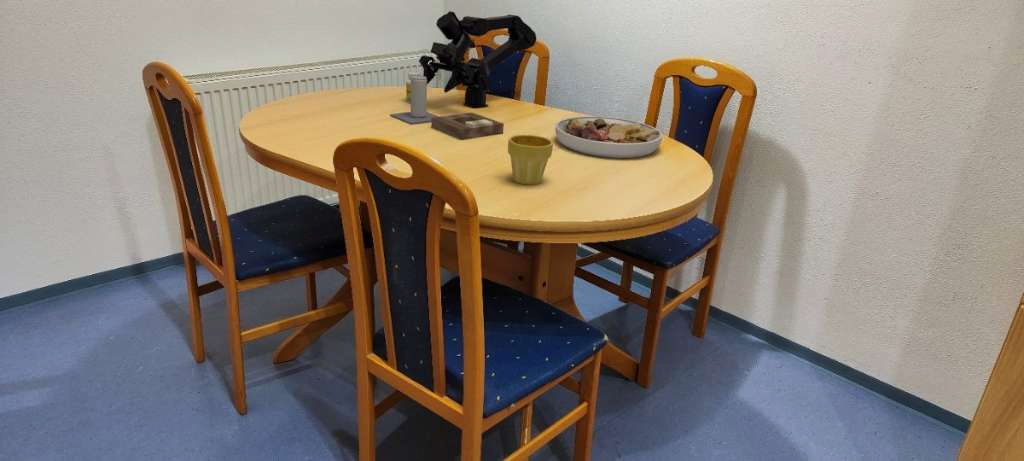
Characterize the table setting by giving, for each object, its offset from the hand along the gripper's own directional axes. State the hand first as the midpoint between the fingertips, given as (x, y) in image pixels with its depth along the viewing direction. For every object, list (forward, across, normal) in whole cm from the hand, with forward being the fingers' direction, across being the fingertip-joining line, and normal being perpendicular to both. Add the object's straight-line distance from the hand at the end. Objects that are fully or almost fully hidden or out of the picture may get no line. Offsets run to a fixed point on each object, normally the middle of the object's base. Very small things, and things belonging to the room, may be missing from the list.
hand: (433, 89), depth 209 cm
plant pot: (+28, +57, -17) cm, 66 cm away
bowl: (-1, +56, +13) cm, 58 cm away
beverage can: (+10, 0, 0) cm, 10 cm away
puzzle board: (+11, +20, 0) cm, 22 cm away
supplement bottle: (0, -16, +12) cm, 19 cm away
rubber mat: (+11, 0, 0) cm, 11 cm away
